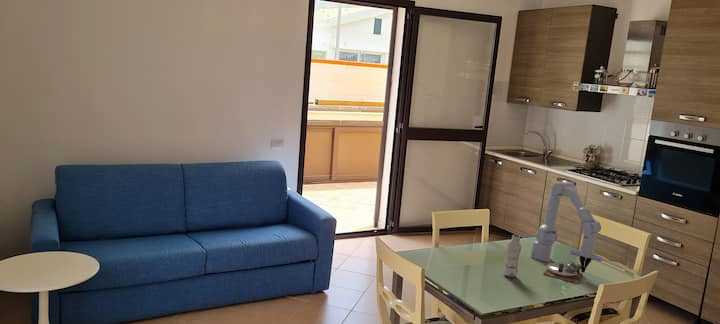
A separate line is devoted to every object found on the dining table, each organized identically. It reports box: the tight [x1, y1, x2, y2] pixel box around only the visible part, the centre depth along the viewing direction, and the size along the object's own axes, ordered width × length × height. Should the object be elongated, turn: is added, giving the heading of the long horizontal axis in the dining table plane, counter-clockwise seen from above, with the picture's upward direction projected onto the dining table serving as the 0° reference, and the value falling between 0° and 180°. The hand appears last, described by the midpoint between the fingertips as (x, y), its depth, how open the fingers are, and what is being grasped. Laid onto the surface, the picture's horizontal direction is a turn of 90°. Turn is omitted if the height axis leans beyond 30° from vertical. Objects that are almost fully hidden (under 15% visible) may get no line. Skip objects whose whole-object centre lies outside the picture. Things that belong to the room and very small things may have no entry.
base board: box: [543, 263, 583, 285], centre depth 274 cm, size 16×16×5 cm
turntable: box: [546, 262, 577, 277], centre depth 275 cm, size 14×14×6 cm
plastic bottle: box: [502, 234, 522, 278], centre depth 262 cm, size 6×7×20 cm
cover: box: [565, 261, 577, 272], centre depth 273 cm, size 5×5×4 cm
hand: (582, 271), depth 270 cm, fingers closed
